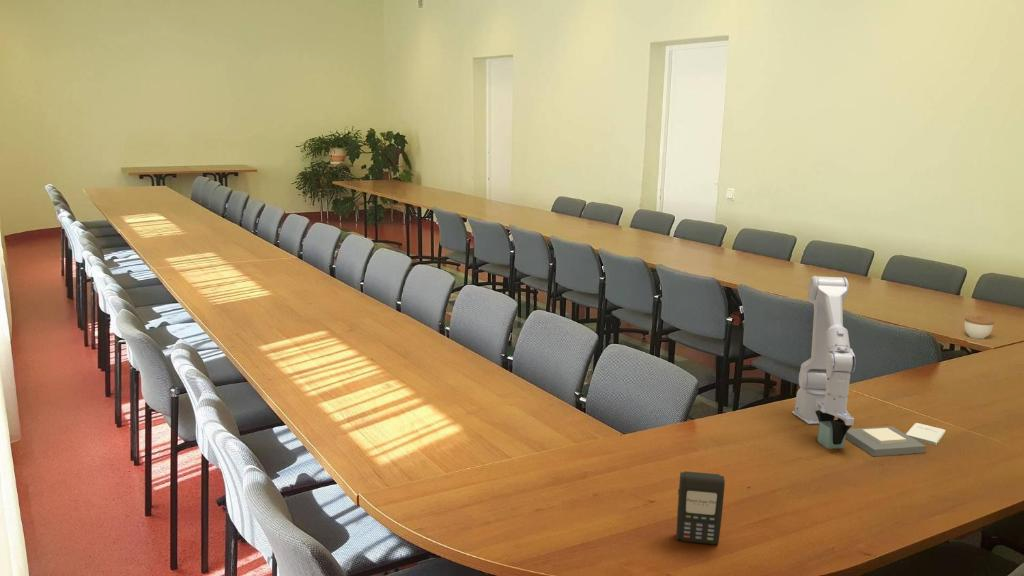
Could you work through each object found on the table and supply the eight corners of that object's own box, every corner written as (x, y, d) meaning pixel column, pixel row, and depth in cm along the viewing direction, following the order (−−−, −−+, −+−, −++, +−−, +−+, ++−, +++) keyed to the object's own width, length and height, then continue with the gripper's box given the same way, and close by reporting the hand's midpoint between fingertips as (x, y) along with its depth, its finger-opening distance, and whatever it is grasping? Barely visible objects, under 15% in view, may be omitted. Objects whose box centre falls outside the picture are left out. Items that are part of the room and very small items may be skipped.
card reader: (675, 542, 165) (680, 477, 162) (674, 533, 169) (679, 469, 166) (719, 547, 164) (725, 481, 161) (717, 537, 168) (723, 473, 164)
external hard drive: (904, 439, 224) (914, 427, 233) (935, 447, 219) (945, 434, 228) (904, 434, 223) (915, 421, 233) (936, 442, 218) (946, 429, 228)
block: (817, 441, 219) (819, 421, 218) (833, 440, 220) (835, 420, 219) (827, 448, 215) (830, 428, 213) (843, 447, 216) (846, 427, 214)
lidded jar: (965, 338, 329) (968, 317, 327) (959, 332, 339) (963, 311, 337) (994, 341, 326) (997, 319, 324) (987, 334, 336) (991, 313, 334)
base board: (842, 435, 224) (843, 426, 223) (891, 432, 227) (892, 423, 226) (873, 456, 210) (874, 446, 210) (925, 452, 213) (926, 442, 213)
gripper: (808, 385, 220) (803, 430, 223) (839, 403, 206) (833, 451, 209) (831, 384, 222) (825, 429, 225) (863, 402, 208) (857, 449, 211)
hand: (831, 439), depth 217 cm, fingers closed on block, 5 cm apart
